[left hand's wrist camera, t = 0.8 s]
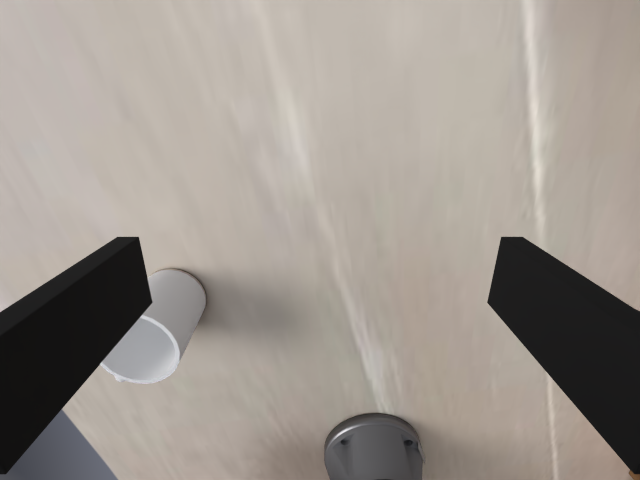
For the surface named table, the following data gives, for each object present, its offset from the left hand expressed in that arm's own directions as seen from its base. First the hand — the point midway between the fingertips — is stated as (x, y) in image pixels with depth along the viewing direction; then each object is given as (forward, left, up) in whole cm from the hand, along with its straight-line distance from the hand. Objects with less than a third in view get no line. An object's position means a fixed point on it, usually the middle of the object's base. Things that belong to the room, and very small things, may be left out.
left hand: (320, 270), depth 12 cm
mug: (-18, +19, -27) cm, 38 cm away
